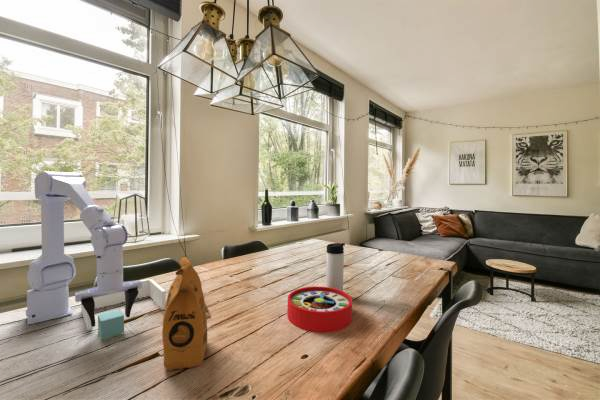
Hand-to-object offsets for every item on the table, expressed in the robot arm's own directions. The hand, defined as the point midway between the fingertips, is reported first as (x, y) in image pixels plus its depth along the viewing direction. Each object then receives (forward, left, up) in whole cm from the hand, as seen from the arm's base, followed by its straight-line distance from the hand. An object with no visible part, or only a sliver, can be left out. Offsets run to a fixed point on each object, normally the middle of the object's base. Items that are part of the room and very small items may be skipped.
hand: (110, 320), depth 73 cm
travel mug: (+64, -25, -4) cm, 69 cm away
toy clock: (+49, -31, -4) cm, 58 cm away
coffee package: (+11, -23, -4) cm, 26 cm away
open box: (+6, +14, -3) cm, 15 cm away
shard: (+20, -3, -4) cm, 21 cm away
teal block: (0, 0, -3) cm, 3 cm away
